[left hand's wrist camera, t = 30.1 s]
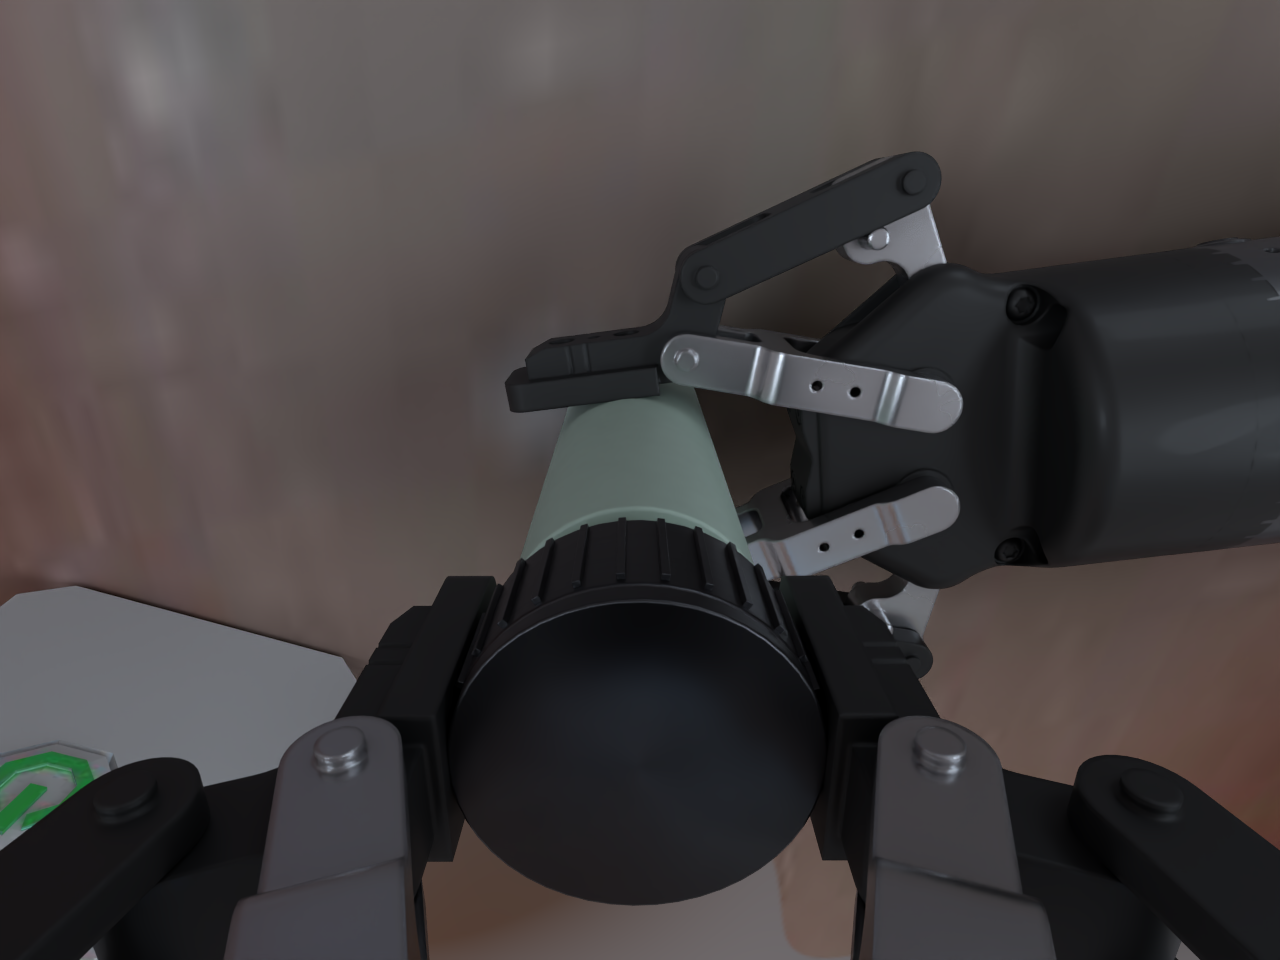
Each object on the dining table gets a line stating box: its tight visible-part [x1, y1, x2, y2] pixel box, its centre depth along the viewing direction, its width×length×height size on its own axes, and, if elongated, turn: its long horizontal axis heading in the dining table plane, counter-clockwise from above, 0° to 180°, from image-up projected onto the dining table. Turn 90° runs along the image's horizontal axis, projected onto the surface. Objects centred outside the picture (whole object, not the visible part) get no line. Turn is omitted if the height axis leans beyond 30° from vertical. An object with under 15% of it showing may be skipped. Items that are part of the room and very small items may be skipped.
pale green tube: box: [520, 383, 754, 565], centre depth 18 cm, size 4×4×16 cm
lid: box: [447, 517, 828, 906], centre depth 10 cm, size 5×5×2 cm
